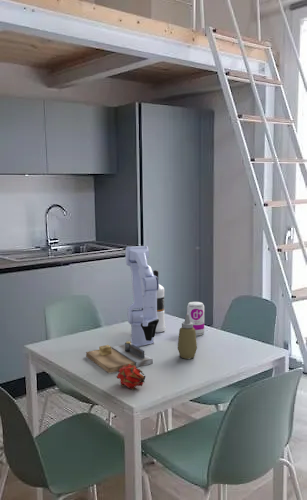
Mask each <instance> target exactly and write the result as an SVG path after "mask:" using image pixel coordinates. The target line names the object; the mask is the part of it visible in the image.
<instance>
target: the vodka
mask: <svg viewBox="0 0 307 500" xmlns="http://www.w3.org/2000/svg"><path fill="white" fill-rule="evenodd" d="M152 271H153V274H154V276H157V278H158V279H159V270H157V269H156V270H154V269H153V270H152ZM158 282H159V280H158ZM156 291H157V290H156ZM165 292H166V291H165V287H164V286H163V285H161V284H160V282H159V289H158V291H157V318H158V319H159V322H158V324H157V327H156V331H155V334H156V333H157V334H158V333H163V332H164V331H166V328H167V327H166V322H165Z"/></svg>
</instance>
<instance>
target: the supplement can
mask: <svg viewBox="0 0 307 500" xmlns="http://www.w3.org/2000/svg"><path fill="white" fill-rule="evenodd" d="M186 314H189V318H190V322H192V323H193V328H194V329H195V332H196V337H200V336H203V335H204V334H205V305H204V303H203V302H201V301H190V302H188V303H187V306H186Z"/></svg>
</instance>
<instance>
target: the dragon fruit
mask: <svg viewBox="0 0 307 500" xmlns="http://www.w3.org/2000/svg"><path fill="white" fill-rule="evenodd" d="M115 378H116V379H117V380H118V379H119V380H120V381H119V383H120V384H121V387H122V388H124V387H125V386H126V387H127V388H128V389H130V390H135V391H136V390H138V388H137V387H143V385H144V383H145V379H146V375H145V374H144V373H143V371H142V370H141V369H139V368H138V367H136V366H135V365H131V364H126V365H123V366H122V367H121V368H120V369H119V371H118V373H117V375H116V377H115Z"/></svg>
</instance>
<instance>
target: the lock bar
mask: <svg viewBox="0 0 307 500" xmlns="http://www.w3.org/2000/svg"><path fill="white" fill-rule="evenodd" d="M124 345H125V351H129V352H131V353H133V354H134V355H136V356H138V357H139V358H141V359H144V358H145V355H144V354H145V350H143V349H142V348H140V347H139V346H138V347H136V346H134V345H133V343H132V342H131V340H128V341H127V340H126V342H125V343H124Z"/></svg>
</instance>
